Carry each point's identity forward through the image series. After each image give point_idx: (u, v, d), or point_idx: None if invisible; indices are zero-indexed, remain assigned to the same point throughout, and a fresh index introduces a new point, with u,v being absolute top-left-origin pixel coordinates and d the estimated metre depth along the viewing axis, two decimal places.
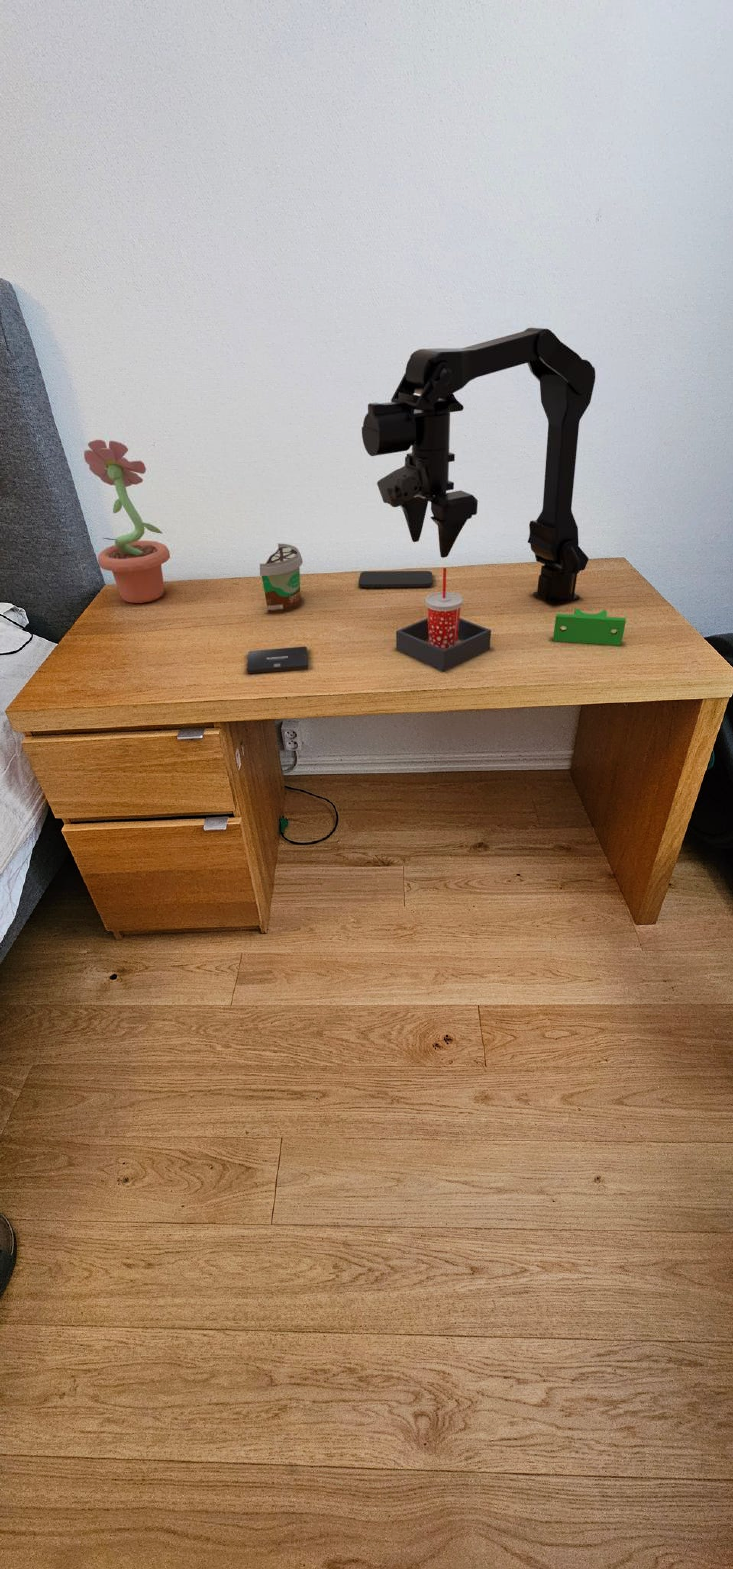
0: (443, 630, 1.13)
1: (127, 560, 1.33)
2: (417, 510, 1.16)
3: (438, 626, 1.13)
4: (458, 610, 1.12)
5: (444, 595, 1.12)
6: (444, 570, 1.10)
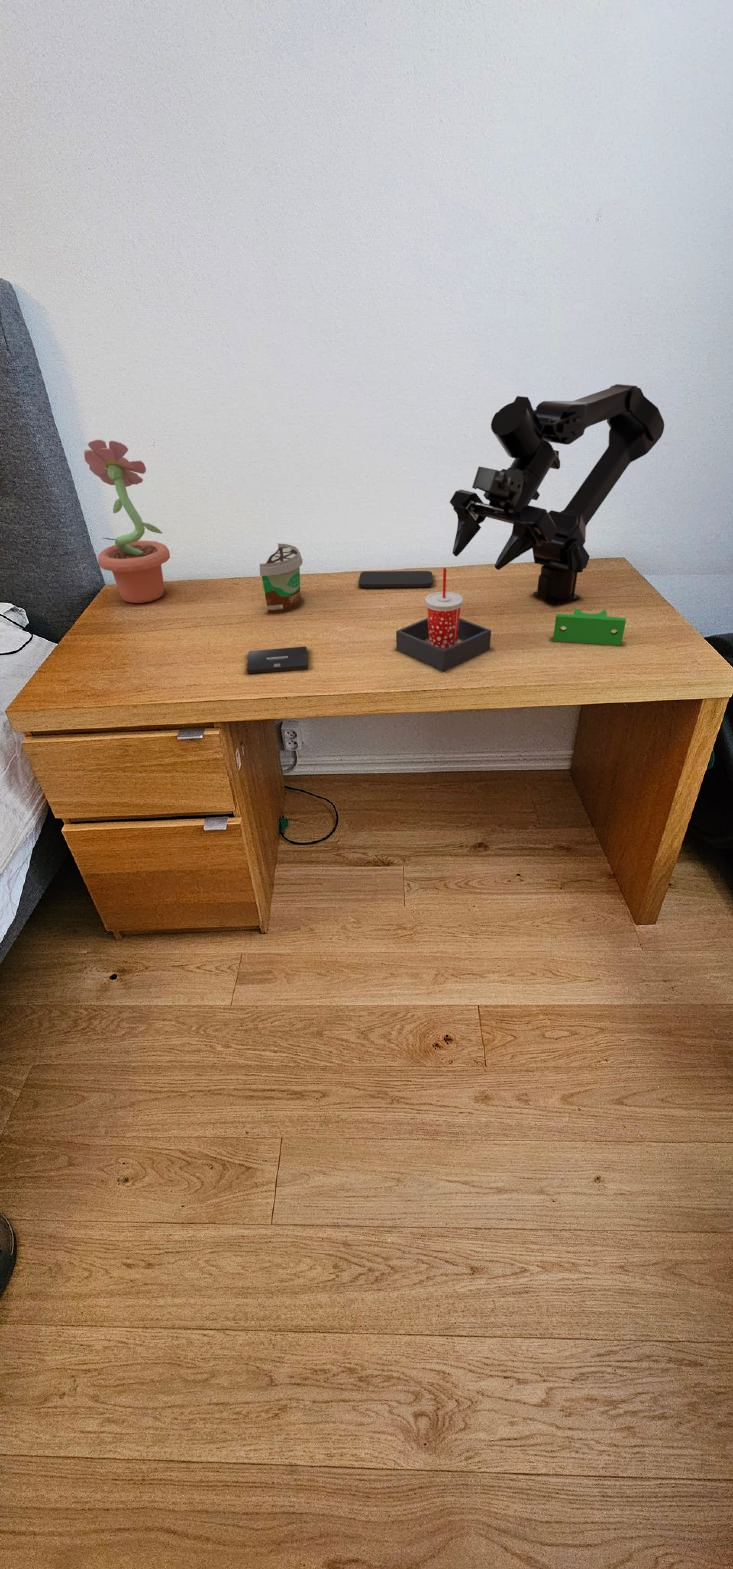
0: (443, 630, 1.13)
1: (127, 560, 1.33)
2: (470, 530, 1.17)
3: (438, 626, 1.13)
4: (458, 610, 1.12)
5: (444, 595, 1.12)
6: (444, 570, 1.10)
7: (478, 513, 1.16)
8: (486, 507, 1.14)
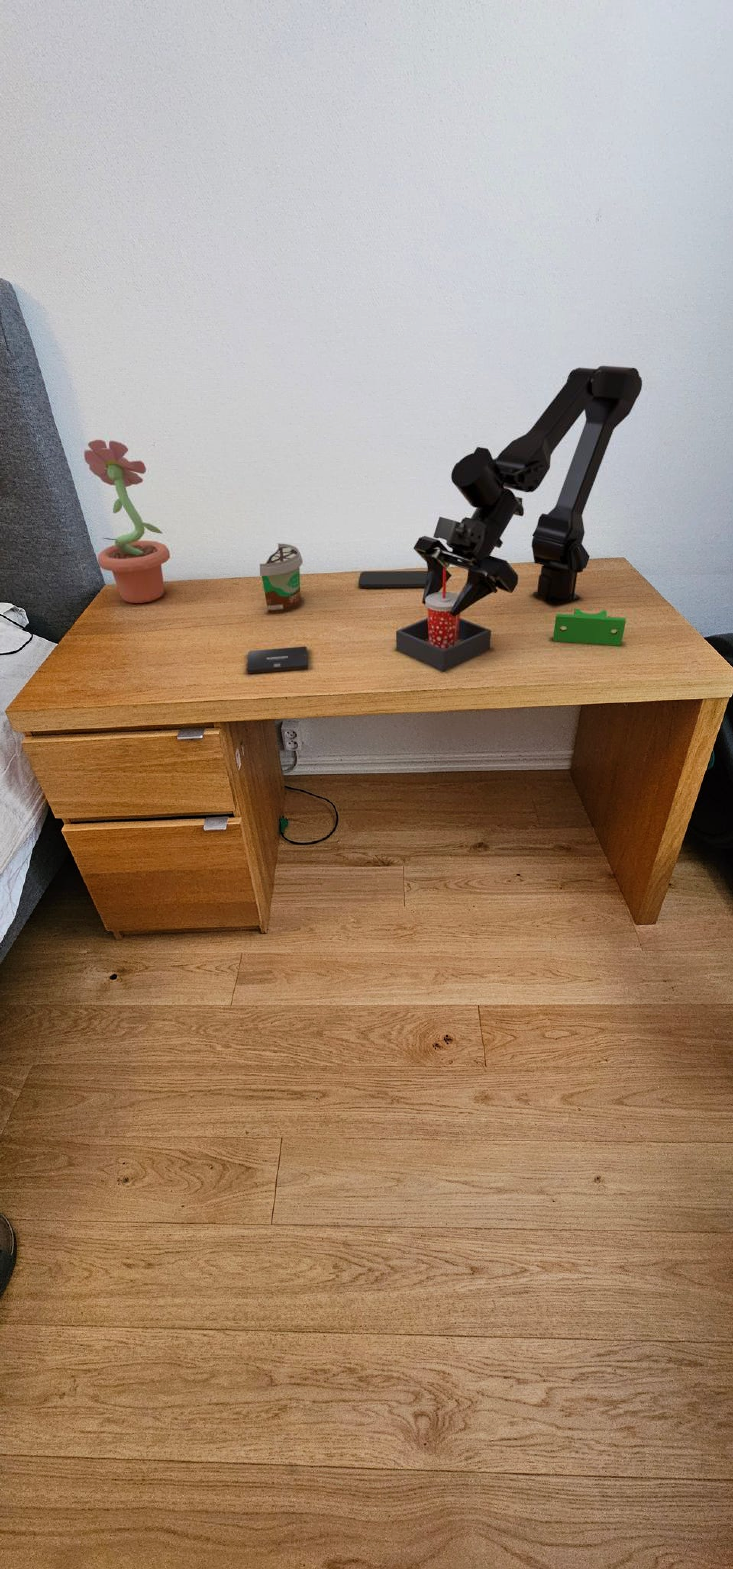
0: (443, 630, 1.13)
1: (127, 560, 1.33)
2: (440, 578, 1.15)
3: (438, 626, 1.13)
4: None
5: (444, 595, 1.12)
6: (444, 570, 1.10)
7: None
8: (455, 557, 1.12)
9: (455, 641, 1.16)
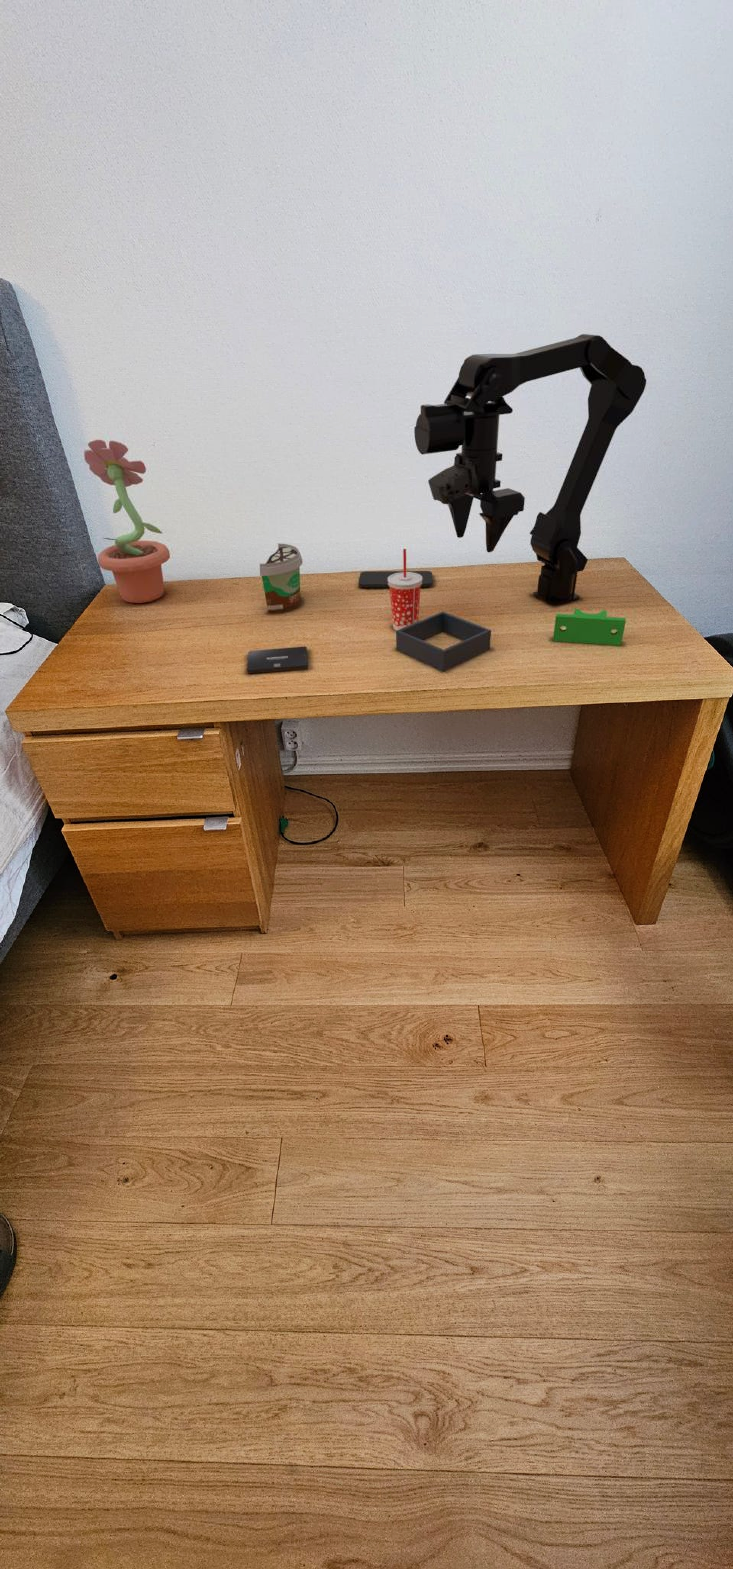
0: (401, 607, 1.22)
1: (127, 560, 1.33)
2: (463, 507, 1.22)
3: (396, 603, 1.21)
4: (415, 590, 1.20)
5: (404, 574, 1.20)
6: (404, 551, 1.18)
7: None
8: None
9: (414, 619, 1.23)
